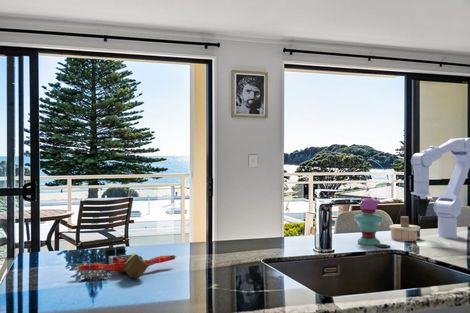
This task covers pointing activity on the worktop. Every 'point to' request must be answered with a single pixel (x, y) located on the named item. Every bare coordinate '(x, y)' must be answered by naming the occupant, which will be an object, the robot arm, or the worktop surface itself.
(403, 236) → the bowl
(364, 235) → the toy
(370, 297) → the worktop surface
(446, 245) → the mat
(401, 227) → the lid
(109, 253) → the toy
